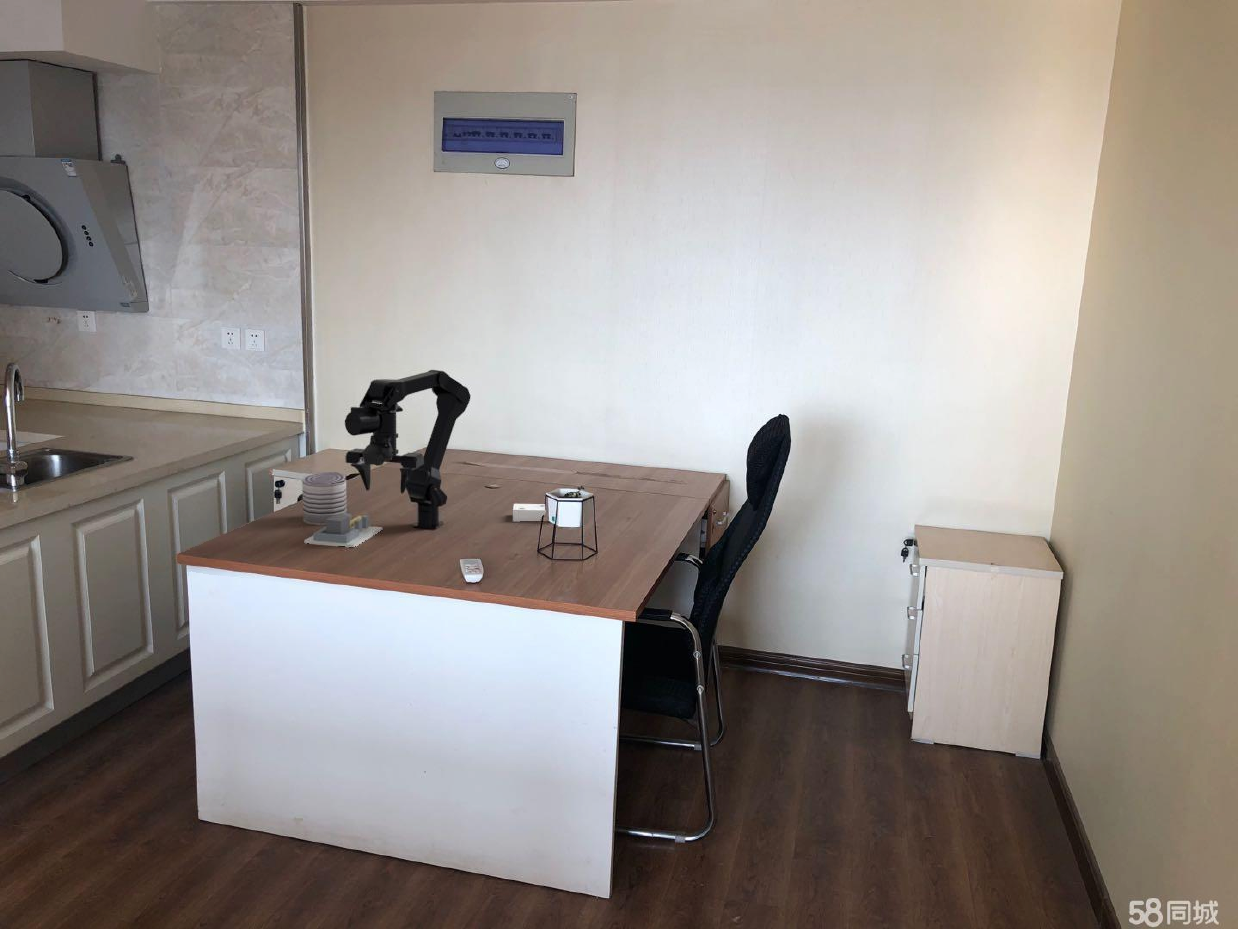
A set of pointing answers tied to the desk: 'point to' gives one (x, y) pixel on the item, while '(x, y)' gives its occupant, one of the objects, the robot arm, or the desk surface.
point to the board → (350, 539)
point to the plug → (340, 524)
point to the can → (323, 497)
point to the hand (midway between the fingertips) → (385, 491)
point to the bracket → (528, 512)
